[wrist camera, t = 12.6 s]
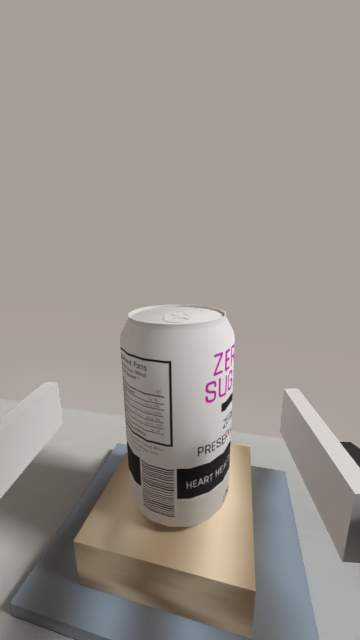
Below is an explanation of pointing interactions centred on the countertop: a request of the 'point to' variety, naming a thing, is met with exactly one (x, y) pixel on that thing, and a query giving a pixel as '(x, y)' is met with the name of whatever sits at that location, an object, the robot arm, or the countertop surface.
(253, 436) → the countertop surface
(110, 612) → the base
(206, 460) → the supplement can
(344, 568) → the countertop surface
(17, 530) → the countertop surface
